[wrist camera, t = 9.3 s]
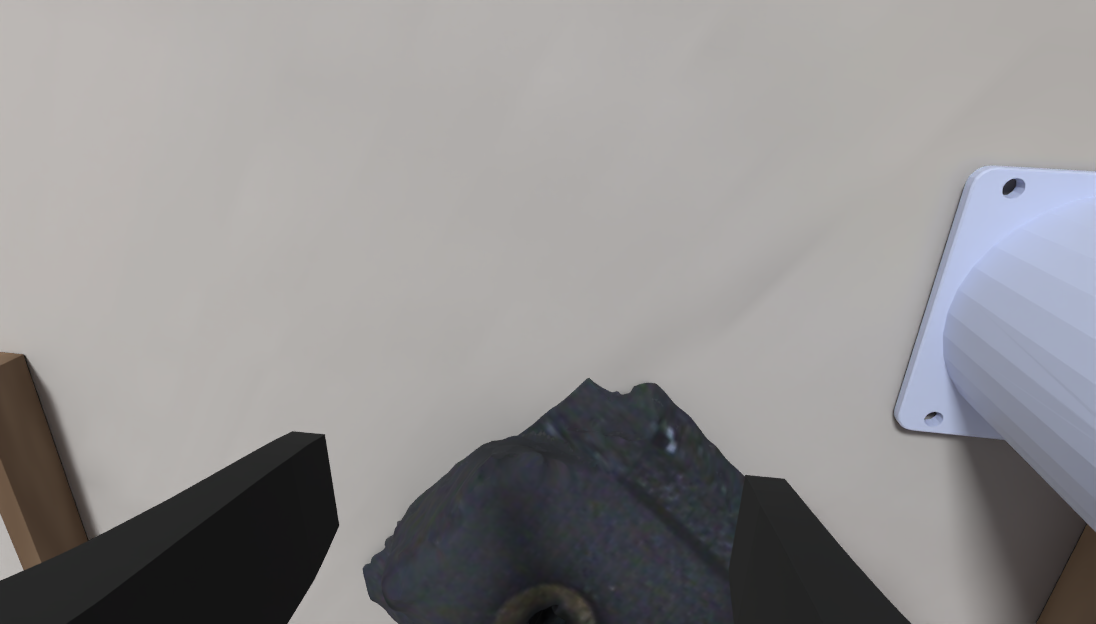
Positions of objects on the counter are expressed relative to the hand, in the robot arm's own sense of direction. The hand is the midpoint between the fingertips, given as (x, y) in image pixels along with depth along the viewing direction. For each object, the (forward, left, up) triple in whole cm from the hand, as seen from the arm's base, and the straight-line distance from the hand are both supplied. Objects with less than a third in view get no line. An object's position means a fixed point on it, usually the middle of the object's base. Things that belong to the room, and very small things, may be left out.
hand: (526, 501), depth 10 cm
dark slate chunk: (-4, +14, -10) cm, 18 cm away
